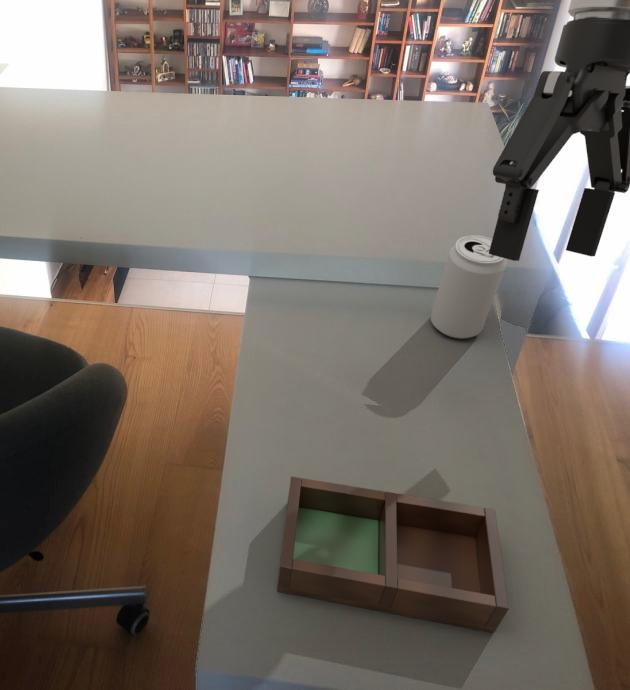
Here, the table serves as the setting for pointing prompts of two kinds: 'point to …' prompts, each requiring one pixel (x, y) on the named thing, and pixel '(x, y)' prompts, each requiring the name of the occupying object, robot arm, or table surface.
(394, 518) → the wooden compartment tray
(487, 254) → the beverage can
